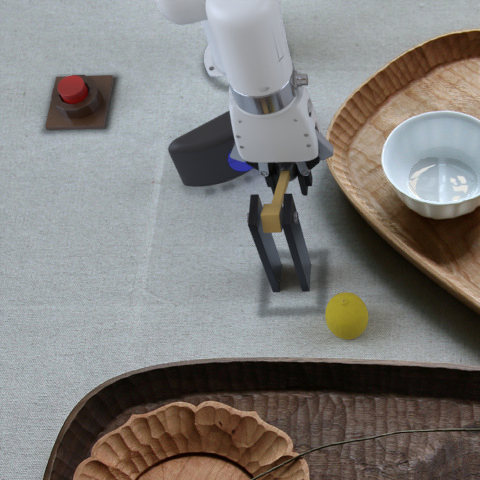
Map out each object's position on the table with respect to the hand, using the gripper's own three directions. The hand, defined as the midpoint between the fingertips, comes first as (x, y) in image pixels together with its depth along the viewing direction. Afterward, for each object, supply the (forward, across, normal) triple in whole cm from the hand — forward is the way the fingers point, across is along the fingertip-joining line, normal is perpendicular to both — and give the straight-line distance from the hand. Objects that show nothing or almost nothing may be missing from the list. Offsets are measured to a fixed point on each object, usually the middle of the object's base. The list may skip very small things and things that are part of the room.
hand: (291, 186), depth 110 cm
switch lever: (-4, 0, +6) cm, 8 cm away
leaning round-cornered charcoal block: (+6, +10, -9) cm, 15 cm away
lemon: (+7, -8, +19) cm, 21 cm away
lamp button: (+3, +35, -21) cm, 41 cm away
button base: (+5, +35, -21) cm, 41 cm away
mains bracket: (+6, 0, +11) cm, 13 cm away
